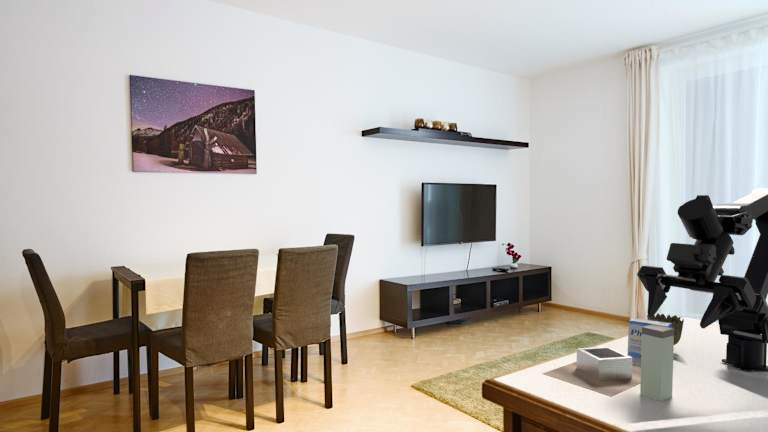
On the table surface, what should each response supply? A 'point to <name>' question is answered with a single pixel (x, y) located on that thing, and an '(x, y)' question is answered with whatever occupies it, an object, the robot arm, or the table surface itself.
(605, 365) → the hollow square tube
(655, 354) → the pale green prism
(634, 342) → the medicine box
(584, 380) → the beige rectangular plate
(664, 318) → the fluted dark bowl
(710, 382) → the table surface
